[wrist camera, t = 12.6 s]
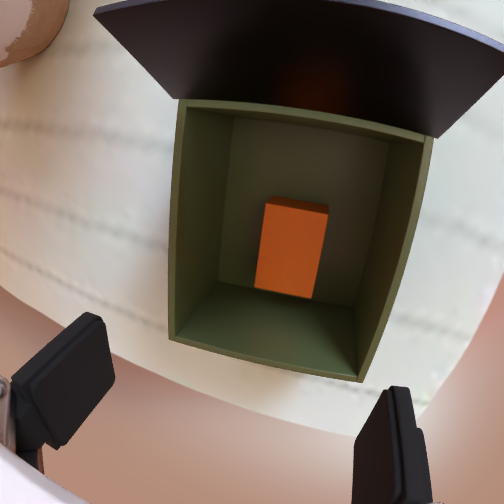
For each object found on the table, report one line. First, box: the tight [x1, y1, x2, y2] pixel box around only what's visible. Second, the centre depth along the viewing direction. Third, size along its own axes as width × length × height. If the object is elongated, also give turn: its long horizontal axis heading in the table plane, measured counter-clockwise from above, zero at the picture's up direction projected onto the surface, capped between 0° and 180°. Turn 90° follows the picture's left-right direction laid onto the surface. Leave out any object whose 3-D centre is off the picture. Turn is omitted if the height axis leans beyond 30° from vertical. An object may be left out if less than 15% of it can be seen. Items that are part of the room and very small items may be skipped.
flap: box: [93, 0, 504, 139], centre depth 10 cm, size 7×13×1 cm
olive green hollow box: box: [168, 99, 434, 383], centre depth 21 cm, size 15×13×10 cm
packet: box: [254, 196, 329, 299], centre depth 24 cm, size 6×4×3 cm
